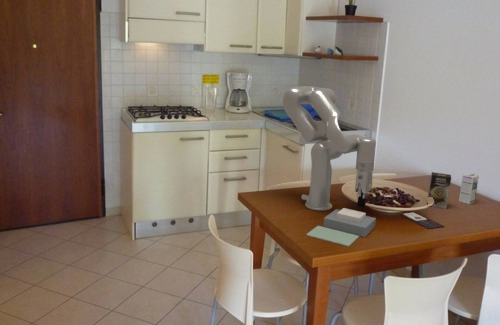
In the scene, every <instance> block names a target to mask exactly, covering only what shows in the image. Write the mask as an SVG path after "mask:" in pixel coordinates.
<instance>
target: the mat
mask: <svg viewBox="0 0 500 325" xmlns="http://www.w3.org/2000/svg"><path fill="white" fill-rule="evenodd" d="M305 236H307V237H310V238H314V239H315V238H316V239H318V240H322V241H326V242H329V243H333V244H338V245H341V246H345V247H348V248H349V247H350V246H351V245H352V244H353V243H354V242H356V240H358V239H359V237H360V236H357V235H353V234H350V233H346V232H342V231H338V230H334V229H330V228H326V227H323V226H322V225H321V226H320V225H317V226H315V227H314V228H313V229H311V230H310V231H309V232H307V233H306V234H305Z"/></svg>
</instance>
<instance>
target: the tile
mask: <svg viewBox="0 0 500 325" xmlns="http://www.w3.org/2000/svg"><path fill="white" fill-rule="evenodd" d="M339 210H340V211H339V212H338V213H337V218H341V219H345V220H349V221H354V222H358V223H360V222H361V221H362V220H363V219H364V218H365V217H366V216H367V215H366V214H367V212H363V211H358V210H355V209H349V208H346V207H343V208H342V209H339Z"/></svg>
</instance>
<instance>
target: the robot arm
mask: <svg viewBox="0 0 500 325" xmlns="http://www.w3.org/2000/svg"><path fill="white" fill-rule="evenodd" d="M336 101H337V95H336V93H335V92H334V90H332V89H331V88H327V87H318V86H310V85H305V86H304V85H303V86H301V85H299V86H293V87H290V88H288V89H287V90H286V91H285V92H284V94H283V97H282V106H283V108H284V111H285V113H286V115H287V116H288V117H289V118H290V120H291V121H292V123H293V124H294V125H295V127H296V129H297V130H298V132H299V134H300V135H301V136H302V138H303V140H304V141H305V142H307V143H314V144H313V145H312V146H311V149H310V157H311V158H310V159H311V169H310V170H311V171H310V182H309V183H310V184H309V193H308V195H307V194H301V200H303V201H305V203H304V206H305V207H306V208H307V209H310V210H313V211H320V212H321V211H330V210H331V209H332V208H333V205H332V203H331V202H330V197H331V186H332V177H333V176H332V175H333V174H332V173H333V169H332V168H333V167H332V162H331V161H333V160H336V159H339V158H340V157H341V156H343V155H346V154H350V153H356V162H355V170H356V176H355V183H354V184H355V185H354V192H356V193H357V195H356V196H357V207H358V208H359V207H360V208H365V207H366V205H367V204H366V202H367V194H368V193H369V192H370V191H372V189H373V171H374V167H375V157H376V156H375V155H376V144H377V141H376V140H375V138H373V137H367V136H366V137H364V136H361V135H358V134H349V135H345V134H344V132H343V131H342V130H341V128H340V126H339V119H340V118H341V115H342V113H341V111H340V110H339V109H338V106H336ZM309 104H310V105H311V107H312V108H313V109H314V111H315V112H316V114H317V115H318V116H319V119H321V120H315V119H314V118H313V117H312V116H311V113H310V112H309V111H308V110H307V109H305V107H303V106H302V105H309Z"/></svg>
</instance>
